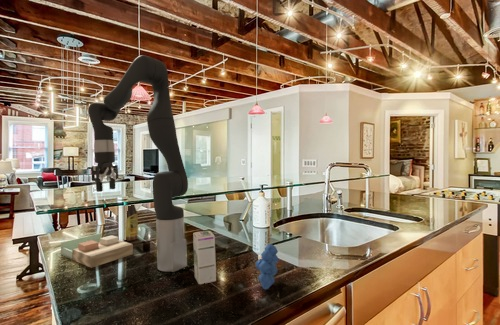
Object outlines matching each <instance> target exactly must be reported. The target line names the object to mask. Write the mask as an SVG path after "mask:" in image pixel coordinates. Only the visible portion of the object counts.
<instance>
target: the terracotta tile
mask: <svg viewBox="0 0 500 325" xmlns="http://www.w3.org/2000/svg"><path fill="white" fill-rule="evenodd" d="M95 248H99V243H98V242H96V241H93V240H91V241H87V242H83V243H79V244H78V249H80V250H83V251H88V250H91V249H95Z"/></svg>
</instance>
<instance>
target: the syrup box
mask: <svg viewBox="0 0 500 325" xmlns="http://www.w3.org/2000/svg"><path fill="white" fill-rule="evenodd" d="M192 235H193V236H192V239H193V240H192V242H193V246H192V247H193V264H194V265H193V266H194V268H193V269H194V279H195V280H196V282H197V284H198V285H203V284H204V283H205V284H208V283H213V282H217V263H216V242H215V240H216V237H215V234H214V233H213V232H212V231H211V230H202V231H196V232H193V234H192Z"/></svg>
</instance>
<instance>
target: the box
mask: <svg viewBox="0 0 500 325" xmlns="http://www.w3.org/2000/svg"><path fill="white" fill-rule="evenodd" d="M100 238H103V233H102V232H98V233H95V234H91V235H86V236H82V237H78V238H73V239H69V240H66V241H65V240H64V241H61V242H60V254H61V256H63V257H65V258H68V259H70V260H72V261H74V260H73V254H72V249H76V248H78V244H79V243H83V242H87V241H91V240H93V241H96V242H100Z"/></svg>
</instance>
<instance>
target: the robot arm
mask: <svg viewBox="0 0 500 325" xmlns="http://www.w3.org/2000/svg"><path fill="white" fill-rule="evenodd" d="M140 82H141V83H145V84H148V85H151V87H152V92H153V101H152V103H151V105H150V106H151V107H150V108H149V110H148V113H147V116H146V121H147V122H146V123H147V130H148V134H149V137H150V140H151V142H152V143H153V144H154V145H155V147H156V148H157V149H158V151H159V152H160V153H161V154H162V156H163V158H164V159H165V162H166V165H167V169H168V171H167V170H166V171H159V172H157V173H155V174H154V176H153V179H152V197H153V198H152V199H153V207H154V208H153V209H154V212H155V221H156V223H155V225H156V226H155V227H156V230H155V231H156V255H157V256H156V258H157V260H156V261H157V263H156V264H157V270H159V271H161V272H172V273H174V272H177V271H179V270H182V269H183V268H186V267H188V256H187V252H188V250H187V247H188V246H187V239H186V238H185V215H184V214H185V213H184V209H183V207H181V206H176V205H175V204H173V198H177V197H182V196H184V195H186V193H187V192H188V188H189V181H188V175H187V172H186V169H185V165H184V162H183V158H182V155H181V154H182V153H181V150H180V146H179V142H178V141H179V140H178V136H177V128H176V124H175V120H174V119H175V118H174V114H173V109H172V103H171V96H170V84H169V73H168V68H167V66H166V64H165V63H164V62H163V61H161V60H159V59H156V58H154V57H151V56H148V55H145V54H142V55H139V56H137V57H135V59H134V60H133V61H132V62H131V64H130V65H129V67H128V69H127V70H126V71H125V73H124V75H123V76H122V78H121V79H120V81H119V82H118V83H117V85H116V86H115V87H114V88H113V89H112V90H111V91H109V92H108V93H107V94H106V95H105V96H104V98H103V102H98V101H97V102H96V101H94V102H92V103H90V105H89V106H88V110H87V114H88V117H89V119H90V122H91V125H92V128H93V137H94V144H93V148H94V149H93V152H94V163H95V164H97V165H91V181H93V182H94V183H95V188H96V189H95V190H96V192H103V191H104V190H103V189H104V187H103V180H104V178H105V177H108V180H109V181H108V182H109V184H108V185H109V190H115V189H116V180H117V179H119V167H118V165H117V164H113V163H115V162H116V155H115V153H116V151H115V143H114V142H115V141H114V130H113V128H112V126H110V125H106V124H105V123H104V121H105V122H106V121H107V122H111V121H114V120H115V119H116V118H117V117H118V115H119V113H120V111H121V109H122V108H123V107H124V106H125V105H126V104H128V103H129V102H130V100H131V99H132V97H133V96H132V95H133V88H134V86H135V85H137V84H138V83H140Z"/></svg>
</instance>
